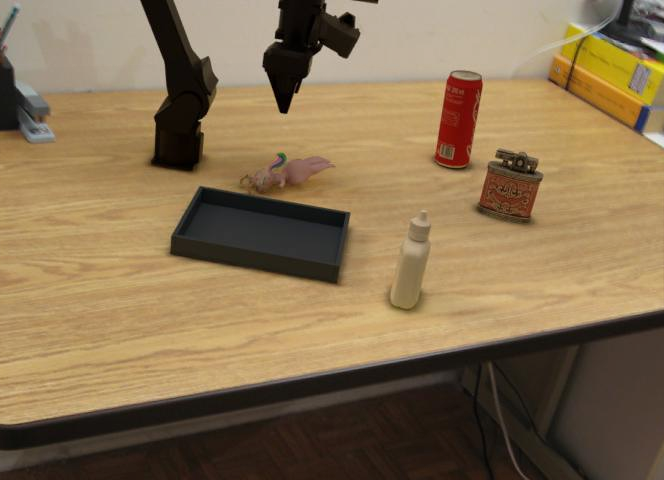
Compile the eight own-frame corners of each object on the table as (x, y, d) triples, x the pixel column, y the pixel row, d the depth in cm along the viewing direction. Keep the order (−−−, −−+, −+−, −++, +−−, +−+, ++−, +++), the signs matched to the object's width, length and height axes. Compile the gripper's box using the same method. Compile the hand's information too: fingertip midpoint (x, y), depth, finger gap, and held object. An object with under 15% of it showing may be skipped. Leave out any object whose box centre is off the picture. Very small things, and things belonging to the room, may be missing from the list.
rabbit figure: (253, 208, 125) (343, 182, 131) (251, 172, 122) (344, 146, 127) (235, 189, 130) (322, 165, 135) (232, 154, 126) (322, 130, 132)
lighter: (530, 216, 131) (549, 155, 126) (528, 226, 128) (547, 163, 123) (478, 203, 133) (494, 142, 128) (474, 212, 130) (491, 150, 125)
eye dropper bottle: (375, 296, 106) (394, 209, 100) (404, 283, 110) (423, 197, 104) (403, 313, 104) (423, 224, 98) (431, 299, 107) (453, 212, 101)
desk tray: (170, 253, 109) (171, 235, 108) (198, 202, 122) (199, 185, 121) (336, 284, 108) (340, 266, 106) (347, 228, 121) (350, 212, 119)
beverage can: (467, 172, 143) (489, 84, 135) (428, 165, 143) (448, 76, 135) (468, 159, 148) (490, 72, 140) (430, 151, 148) (449, 65, 140)
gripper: (354, 19, 110) (335, 135, 118) (368, -12, 125) (350, 92, 134) (268, 4, 110) (255, 121, 119) (292, -25, 126) (279, 79, 135)
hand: (289, 102), depth 126 cm, fingers open, 9 cm apart
